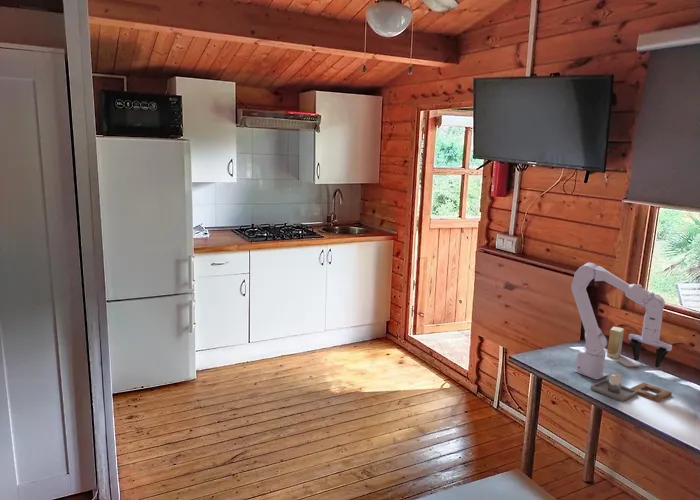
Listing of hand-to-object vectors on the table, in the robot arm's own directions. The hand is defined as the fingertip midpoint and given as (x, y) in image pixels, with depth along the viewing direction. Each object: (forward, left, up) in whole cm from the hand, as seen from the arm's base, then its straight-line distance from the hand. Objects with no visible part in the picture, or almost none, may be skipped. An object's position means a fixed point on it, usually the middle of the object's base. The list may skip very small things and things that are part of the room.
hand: (646, 363), depth 196 cm
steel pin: (-4, -14, -9) cm, 17 cm away
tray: (-4, -14, -10) cm, 18 cm away
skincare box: (-23, +23, -10) cm, 34 cm away
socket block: (+4, -3, -10) cm, 11 cm away
